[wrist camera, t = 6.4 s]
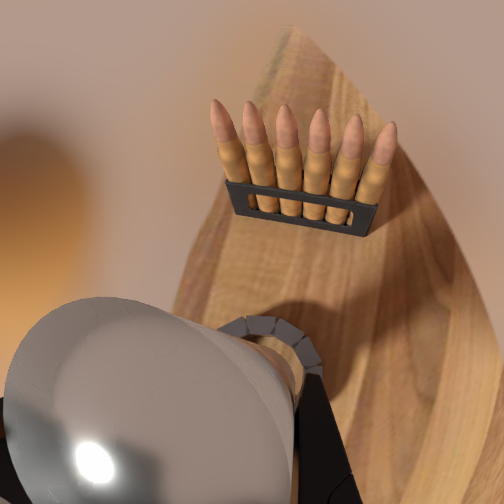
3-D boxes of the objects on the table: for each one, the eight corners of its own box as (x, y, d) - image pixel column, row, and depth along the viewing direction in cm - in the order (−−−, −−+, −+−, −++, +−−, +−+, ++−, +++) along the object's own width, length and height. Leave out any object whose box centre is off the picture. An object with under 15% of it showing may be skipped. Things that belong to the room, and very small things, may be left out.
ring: (237, 445, 19) (230, 455, 17) (188, 350, 22) (176, 348, 20) (339, 397, 20) (344, 402, 17) (286, 300, 22) (285, 293, 20)
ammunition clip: (368, 216, 24) (410, 113, 12) (366, 237, 23) (413, 141, 12) (240, 195, 26) (203, 88, 15) (235, 214, 25) (191, 112, 14)
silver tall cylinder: (231, 439, 14) (84, 582, 2) (194, 365, 15) (-20, 357, 3) (310, 404, 14) (352, 550, 2) (270, 329, 15) (184, 234, 4)
